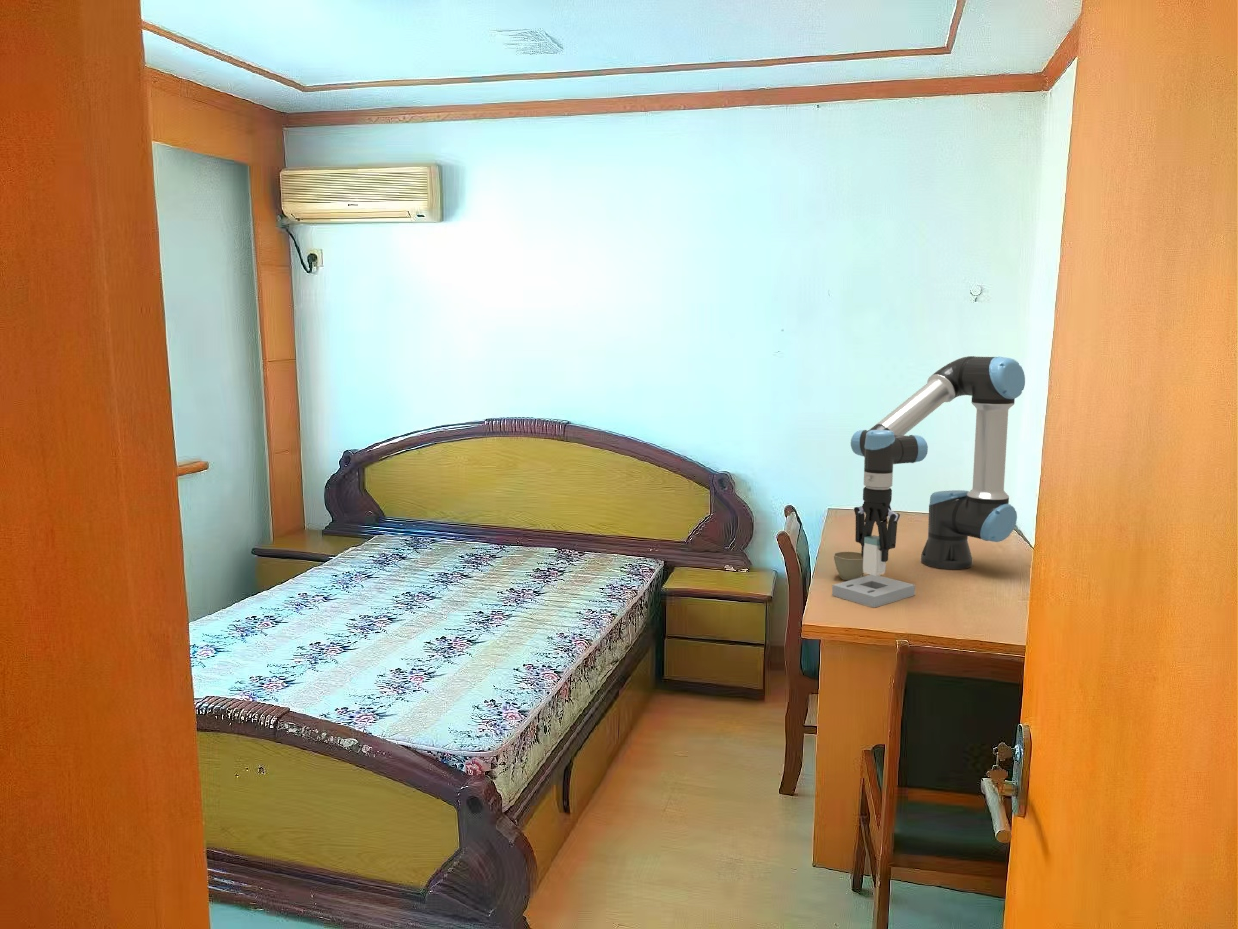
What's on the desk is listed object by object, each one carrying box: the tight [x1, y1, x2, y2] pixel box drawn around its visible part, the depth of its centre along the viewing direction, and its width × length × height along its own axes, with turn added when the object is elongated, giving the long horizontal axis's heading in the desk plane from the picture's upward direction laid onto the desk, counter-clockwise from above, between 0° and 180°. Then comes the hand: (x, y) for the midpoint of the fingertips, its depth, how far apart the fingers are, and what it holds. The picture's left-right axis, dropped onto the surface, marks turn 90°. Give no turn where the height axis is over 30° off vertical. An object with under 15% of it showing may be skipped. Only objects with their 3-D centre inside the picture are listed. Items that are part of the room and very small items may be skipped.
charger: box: [863, 534, 885, 576], centre depth 244 cm, size 4×4×10 cm
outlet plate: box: [831, 574, 916, 609], centre depth 246 cm, size 18×14×3 cm
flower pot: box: [833, 550, 864, 581], centre depth 262 cm, size 10×10×7 cm
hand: (873, 570), depth 245 cm, fingers closed on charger, 4 cm apart
